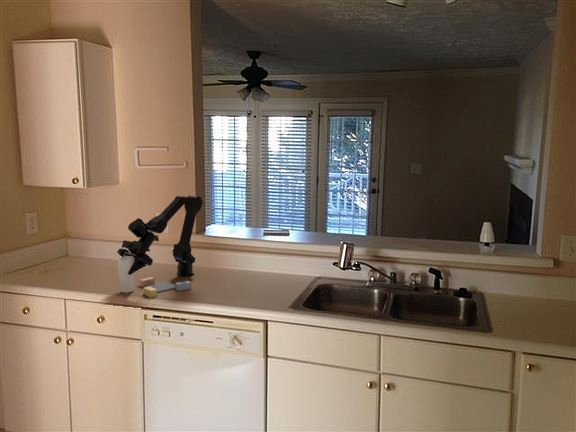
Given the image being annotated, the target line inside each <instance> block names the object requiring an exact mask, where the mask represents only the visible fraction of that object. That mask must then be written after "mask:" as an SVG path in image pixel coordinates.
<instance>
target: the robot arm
mask: <svg viewBox="0 0 576 432" xmlns="http://www.w3.org/2000/svg"><path fill="white" fill-rule="evenodd" d="M183 206H184V210H185V216H184V220H183V225H182V230H181V233H180V237H179V241H178V243H174V244H173V249H172V251H171V253H172V256H173V258H174V261H175V263H177V266H176V268H177V272H176V275H177V276H181V277H184V278H185V277H189V276H193V275H195V272H193V264H194V263H196V258H195V256H194V255H193V254H192V247H191V240H192V239H191V238H192V235H193V231H194V227H195V226H194V225H195V221H196V217H197V214H198V213H199V212H200V211H201V209H202V206H203V199H202V197H201V196H197V195H188V196H184V195H177V196H175V198H174V199H173V200H172V201H171V202H170V204H169V205H167V207H166V208H164V209H163V211H162V212H161V213H160V214H158V215H156V216H153V218H151V219H149V220H148V221H147V222H146V223H145V222H144V221H143V219H141V218H138V217H137V218H136V220H133V221H132V222H130V223H129V224H128V227H127V229H128V230H129V232H131V233H132V234H133V236H135V237H136V238H139V239H138V240H132V241H130V240H129V241H128V240H124V239H123V241H122V245H121V248H119V249H118V250H117V251H116V253H117V254H118V255H119V256H120V257H124V256H132V257H134V263H133V265H132V267H131V268H130V270H129V272H128V274H129V275H131V274H132V273H134V274H135V273H136V272H137V271H139V270H141V269H142V268H144V267H147V266H149V267H151V266H152V265H153V263H154V259H153V258H151V256H149V255H148V254H147V252H150V251H151V249H150V248H151V246H152V244H153V243H154V242H159V241H160V238H159V235H157V234H162V233H164V231H165V229H166V228H167V226H168V223H169V221H170V220H171V219H172V218H173V217H174V216H175V215H176V213H177V212H179V210H180V209H182V207H183ZM117 272H119V270H117Z"/></svg>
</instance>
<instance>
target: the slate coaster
mask: <svg viewBox="0 0 576 432" xmlns="http://www.w3.org/2000/svg"><path fill="white" fill-rule="evenodd" d="M149 286H150V287H152V288H154V289H157V294H159V293H162V292H168V291H171V290H176V283H172V282H170V281H167V280H165V281H162V282H155V284H151V285H147V286H145V287H149ZM145 287H144V288H145Z"/></svg>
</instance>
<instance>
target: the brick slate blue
mask: <svg viewBox="0 0 576 432" xmlns="http://www.w3.org/2000/svg"><path fill="white" fill-rule="evenodd" d="M175 285H176V289H175V290H176V291H178V292H179V291H186V290H190V289H192V282H191V281H189V280H186V281H185V280H184V281H180V282H179V281H178V282H175Z"/></svg>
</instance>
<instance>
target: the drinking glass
mask: <svg viewBox="0 0 576 432" xmlns="http://www.w3.org/2000/svg"><path fill="white" fill-rule="evenodd" d="M133 263H134V257H132V256H124V257H121V256H120V257H118V258H117V269H118V270H119V271H118V270H117V271H118V277H119V283H120V284H119V285H120V292H121V293H123V294H130V293H132V292H134V290H135V289H134V287H135V286H134V284H135V272H134V273H132V274H131V275H129V274H128V272H129V270H130V268H131V267H132V265H133Z"/></svg>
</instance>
